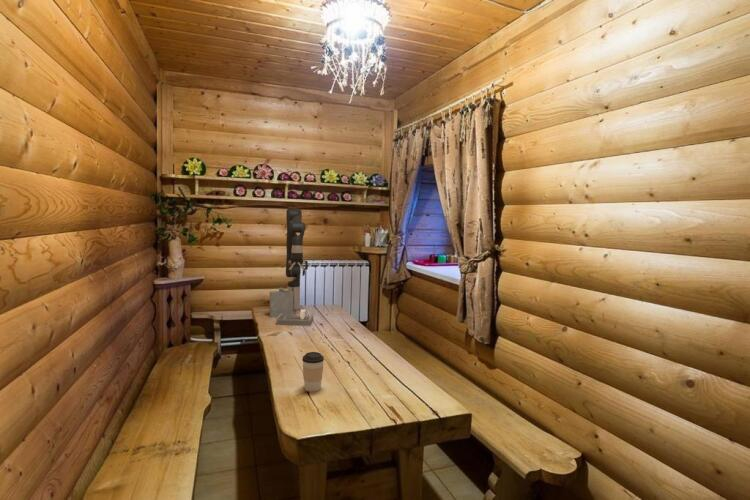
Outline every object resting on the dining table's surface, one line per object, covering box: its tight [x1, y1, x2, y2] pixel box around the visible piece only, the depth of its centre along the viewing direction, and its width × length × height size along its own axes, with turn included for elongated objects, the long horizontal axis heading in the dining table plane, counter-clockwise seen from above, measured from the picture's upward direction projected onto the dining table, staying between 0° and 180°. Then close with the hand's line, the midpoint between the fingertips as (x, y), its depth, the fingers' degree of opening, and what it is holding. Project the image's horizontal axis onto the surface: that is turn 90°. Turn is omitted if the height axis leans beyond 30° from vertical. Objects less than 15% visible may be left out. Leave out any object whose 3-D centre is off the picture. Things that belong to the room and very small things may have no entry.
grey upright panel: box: [269, 287, 294, 318], centre depth 290 cm, size 16×4×20 cm, turn 109°
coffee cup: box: [301, 351, 325, 393], centre depth 174 cm, size 9×9×15 cm
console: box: [276, 313, 314, 327], centre depth 275 cm, size 12×22×4 cm, turn 90°
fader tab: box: [299, 309, 306, 319], centre depth 274 cm, size 5×2×5 cm, turn 0°
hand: (296, 275), depth 281 cm, fingers open, 8 cm apart
